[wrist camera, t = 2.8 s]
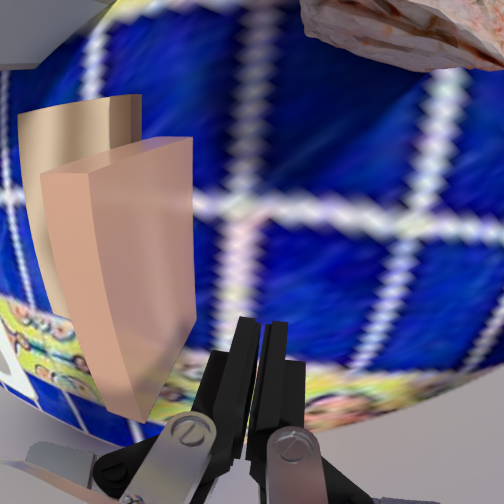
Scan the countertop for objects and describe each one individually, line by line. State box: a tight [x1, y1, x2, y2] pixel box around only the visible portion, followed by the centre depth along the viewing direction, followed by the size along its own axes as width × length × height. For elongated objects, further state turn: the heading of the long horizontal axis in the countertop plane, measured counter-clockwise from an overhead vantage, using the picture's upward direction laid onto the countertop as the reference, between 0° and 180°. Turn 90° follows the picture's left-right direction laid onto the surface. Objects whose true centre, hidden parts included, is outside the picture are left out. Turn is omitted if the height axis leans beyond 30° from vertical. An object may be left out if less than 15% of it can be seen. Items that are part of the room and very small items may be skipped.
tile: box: [40, 137, 197, 424], centre depth 15 cm, size 2×12×9 cm, turn 176°
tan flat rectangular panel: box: [18, 97, 110, 319], centre depth 19 cm, size 9×17×1 cm, turn 176°
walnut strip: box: [110, 94, 142, 149], centre depth 18 cm, size 1×17×1 cm, turn 176°
